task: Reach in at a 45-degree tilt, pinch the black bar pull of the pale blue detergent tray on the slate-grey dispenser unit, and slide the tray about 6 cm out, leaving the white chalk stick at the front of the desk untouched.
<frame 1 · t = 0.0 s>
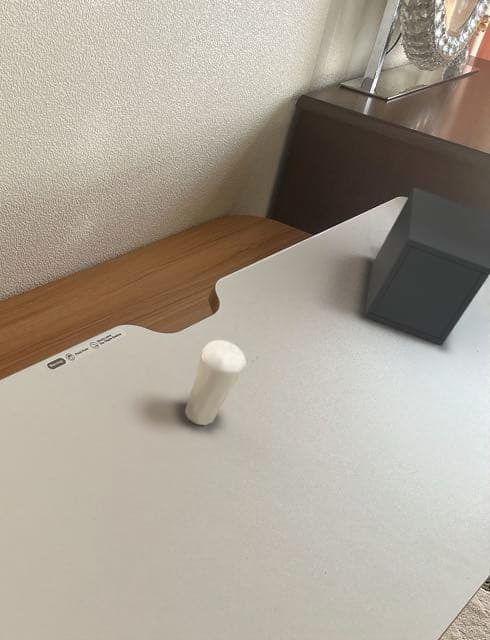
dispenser: (405, 302, 118), on the table
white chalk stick: (201, 418, 95), on the table
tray: (428, 249, 116), point 6 cm above the table, slide at 0.5 cm
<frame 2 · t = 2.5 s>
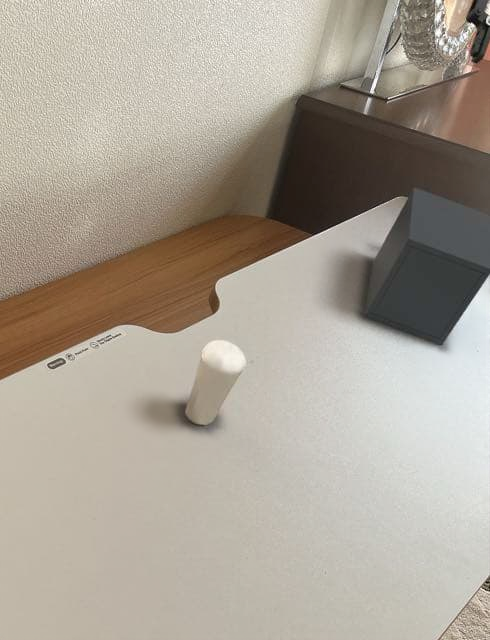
nothing on the table moved.
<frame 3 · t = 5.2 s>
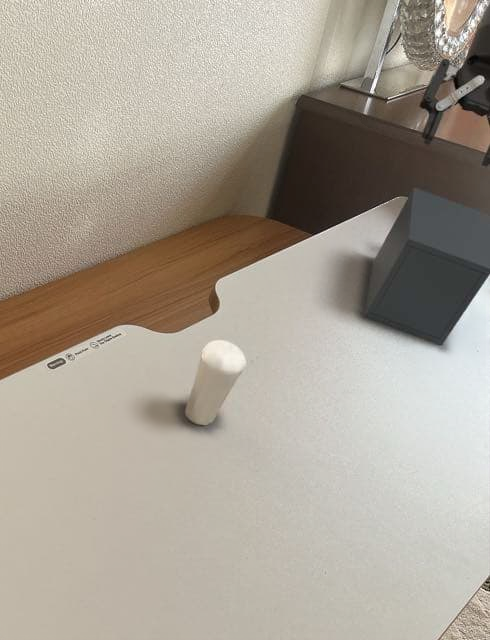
hand: (457, 153, 121), 12 cm above the table, tool tilted 45°, fingers open, 8 cm apart
nothing on the table moved.
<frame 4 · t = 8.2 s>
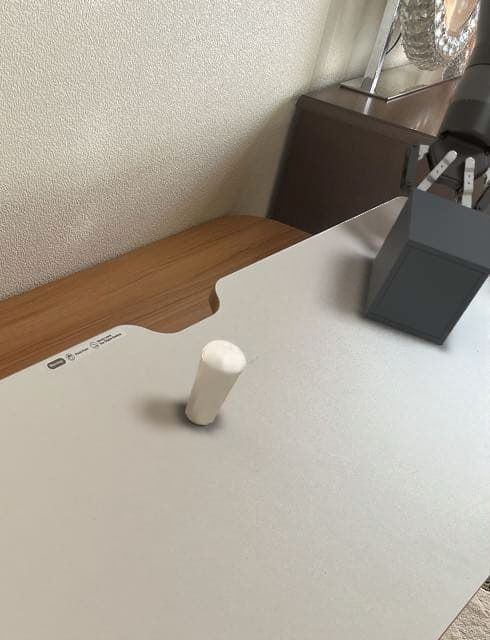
hand: (428, 232, 121), 5 cm above the table, tool tilted 45°, fingers closed on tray, 5 cm apart
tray: (428, 250, 116), point 6 cm above the table, slide at 0.5 cm, touching gripper
everything else where it was.
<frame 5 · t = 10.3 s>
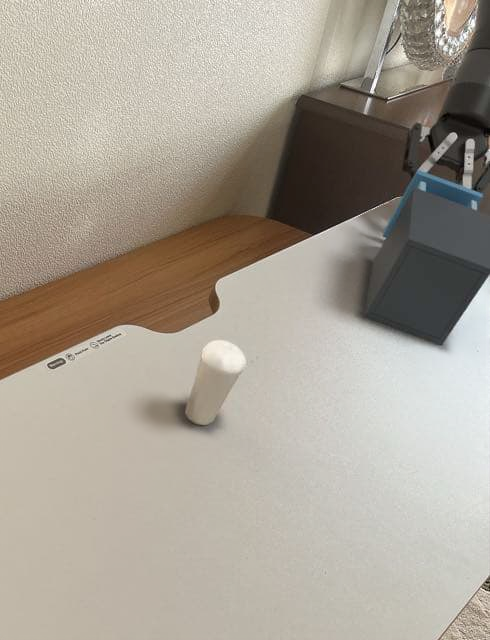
hand: (429, 211, 125), 5 cm above the table, tool tilted 45°, fingers closed on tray, 5 cm apart
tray: (430, 228, 120), point 6 cm above the table, slide at 6.4 cm, touching gripper
everything else where it was.
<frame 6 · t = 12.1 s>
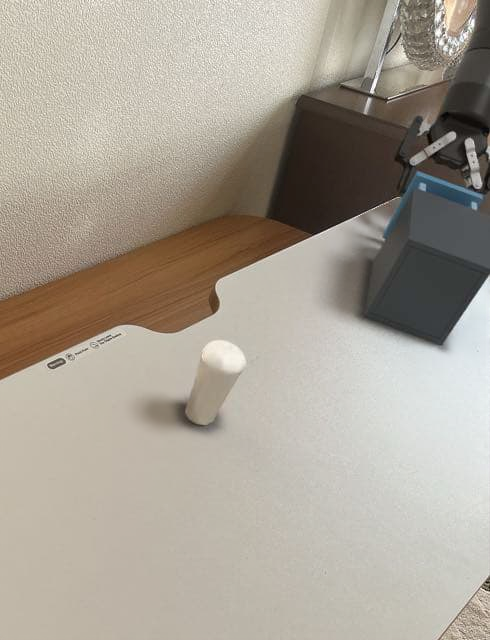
hand: (430, 205, 125), 5 cm above the table, tool tilted 45°, fingers open, 8 cm apart
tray: (430, 229, 120), point 6 cm above the table, slide at 6.0 cm
everything else where it was.
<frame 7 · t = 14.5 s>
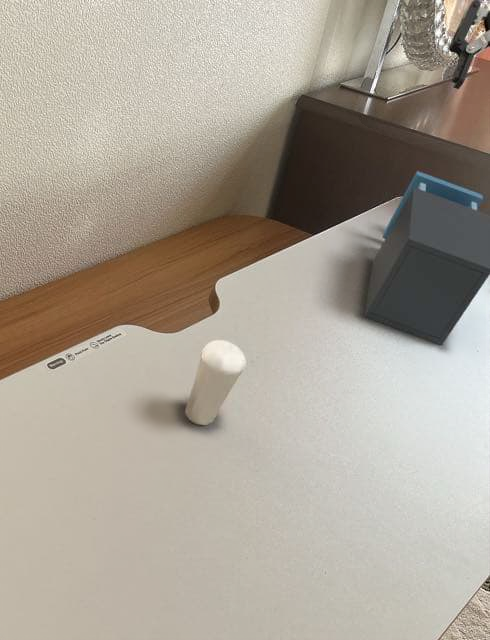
hand: (488, 97, 118), 19 cm above the table, tool tilted 45°, fingers open, 8 cm apart
nothing on the table moved.
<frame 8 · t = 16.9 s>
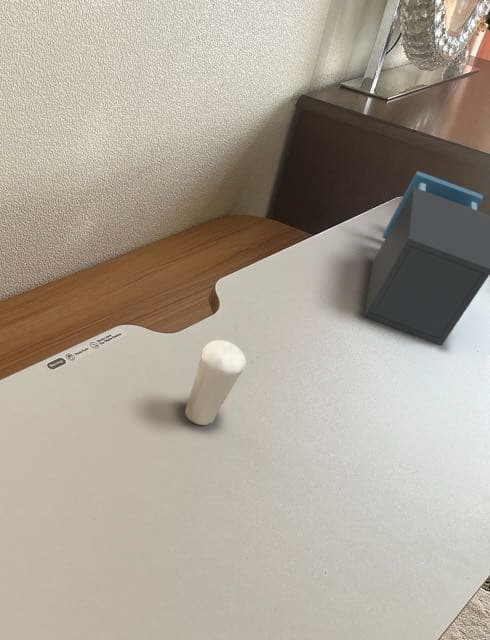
nothing on the table moved.
at the end: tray slide at 6.0 cm; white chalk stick moved 0.2 cm from its start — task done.
